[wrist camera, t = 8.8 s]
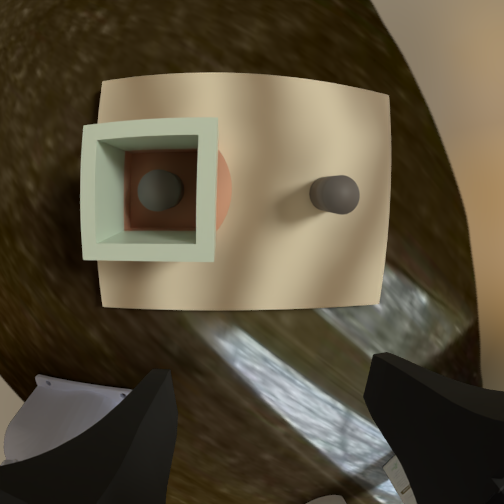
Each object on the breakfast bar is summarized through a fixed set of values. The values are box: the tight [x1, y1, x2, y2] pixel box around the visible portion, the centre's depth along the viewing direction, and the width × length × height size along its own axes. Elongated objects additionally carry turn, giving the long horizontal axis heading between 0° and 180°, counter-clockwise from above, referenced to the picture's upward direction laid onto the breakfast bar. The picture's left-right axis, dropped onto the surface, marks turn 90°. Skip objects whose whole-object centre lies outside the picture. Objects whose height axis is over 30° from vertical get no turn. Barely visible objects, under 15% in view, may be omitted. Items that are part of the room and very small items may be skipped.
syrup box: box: [383, 455, 417, 504], centre depth 18 cm, size 6×6×14 cm
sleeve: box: [80, 117, 219, 262], centre depth 13 cm, size 6×6×5 cm
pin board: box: [97, 73, 391, 310], centre depth 15 cm, size 18×14×4 cm
